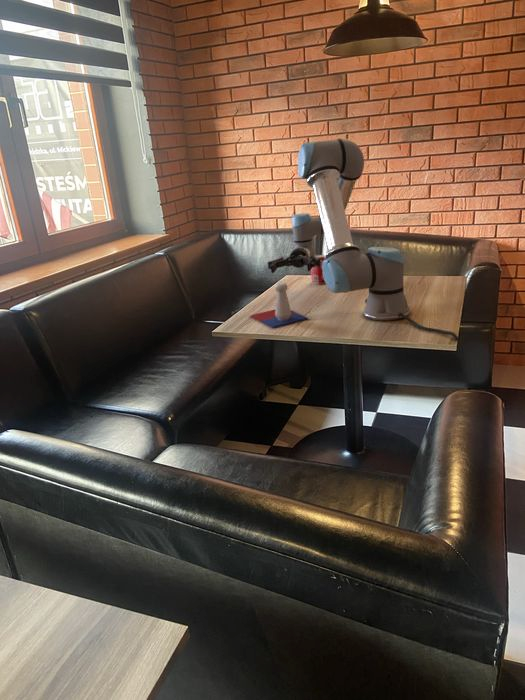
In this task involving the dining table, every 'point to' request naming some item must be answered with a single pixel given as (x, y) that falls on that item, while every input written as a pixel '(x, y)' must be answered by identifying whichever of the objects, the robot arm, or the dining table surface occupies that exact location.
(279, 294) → the salt shaker
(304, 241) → the robot arm
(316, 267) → the soda can
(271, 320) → the sorting mat
